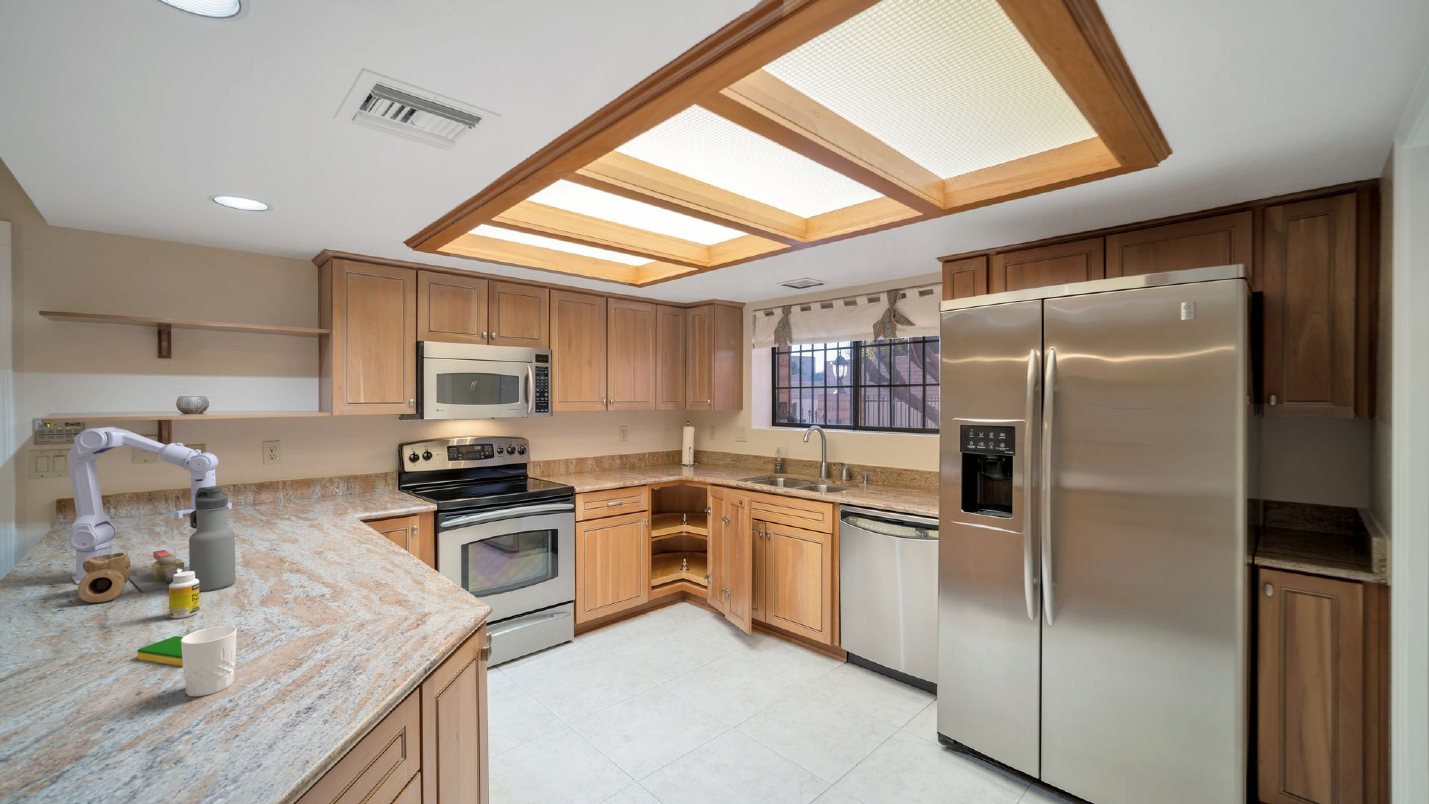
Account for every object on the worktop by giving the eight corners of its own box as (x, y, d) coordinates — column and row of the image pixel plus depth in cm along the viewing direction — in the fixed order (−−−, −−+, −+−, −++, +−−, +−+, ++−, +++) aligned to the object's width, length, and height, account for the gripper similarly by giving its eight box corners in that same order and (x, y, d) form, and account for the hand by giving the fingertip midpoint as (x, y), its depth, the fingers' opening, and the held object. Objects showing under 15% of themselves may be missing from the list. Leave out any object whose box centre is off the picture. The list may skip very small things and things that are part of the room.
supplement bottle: (195, 616, 144) (194, 575, 143) (165, 620, 141) (164, 578, 141) (203, 609, 149) (202, 568, 148) (174, 612, 146) (173, 571, 146)
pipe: (75, 608, 149) (74, 569, 149) (86, 591, 162) (85, 555, 161) (126, 600, 155) (125, 562, 155) (132, 584, 167) (131, 549, 167)
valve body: (148, 576, 174) (148, 560, 174) (175, 571, 179) (175, 556, 179) (161, 587, 164) (161, 571, 164) (189, 582, 169) (189, 566, 169)
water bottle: (182, 588, 164) (180, 488, 163) (224, 578, 172) (222, 483, 172) (200, 594, 159) (198, 491, 158) (242, 584, 167) (240, 485, 167)
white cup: (204, 678, 113) (203, 626, 113) (247, 676, 114) (247, 625, 114) (170, 699, 106) (168, 644, 105) (217, 697, 106) (216, 642, 106)
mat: (128, 578, 172) (128, 577, 172) (204, 564, 186) (204, 563, 186) (143, 593, 160) (143, 591, 160) (222, 577, 174) (222, 575, 174)
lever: (177, 562, 173) (177, 556, 172) (161, 565, 170) (161, 558, 170) (166, 555, 179) (166, 549, 179) (150, 558, 176) (150, 552, 176)
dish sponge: (175, 646, 128) (175, 635, 128) (224, 653, 125) (224, 642, 125) (136, 660, 121) (136, 649, 121) (186, 668, 118) (186, 656, 118)
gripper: (185, 497, 173) (186, 544, 173) (238, 489, 186) (239, 532, 187) (168, 496, 175) (169, 542, 175) (222, 488, 188) (223, 530, 189)
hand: (204, 537), depth 181 cm, fingers closed
